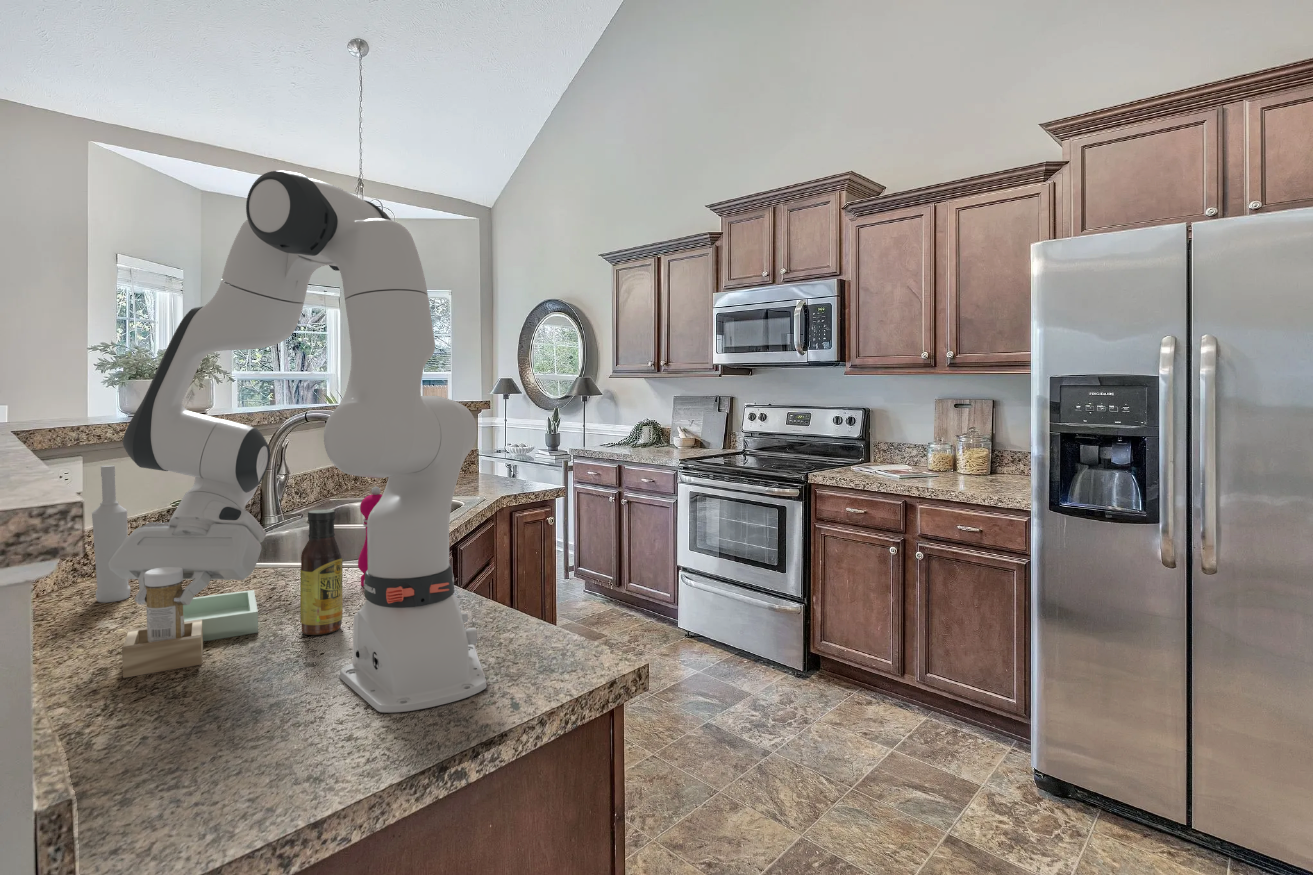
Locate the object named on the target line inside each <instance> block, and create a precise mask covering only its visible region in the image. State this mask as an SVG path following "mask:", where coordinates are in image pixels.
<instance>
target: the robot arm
mask: <svg viewBox="0 0 1313 875" xmlns="http://www.w3.org/2000/svg"><path fill="white" fill-rule="evenodd" d="M245 206H246V207H245V213H246V218H247V219H246V220H245V221H244V222H243V223H242V224H241V226H240V228H239V230H238V233H237V235H236V236H235V238H234V241H233V242H232V245H231V247H230V250H229V253H228V255H227V259H226V262H225V265H224V268H223V271H222V274H221V275H222V276H221V280H220V283H219V285H218V286H219V287H218V288H217V290H216V293H214V295H213V297H212V298H211V299H210V300H209V302H207V303H206V304H205V305H203V306H197V307H192V308H191V309H190V310H189V311H188V312H187V313H186V314H185V315H184V317H183V318H182V320H181V321H180V323H179V324H178V326H177V328H176V330H175V332H174V333H173V336H172V337H171V339H170V341H169V344H168V345H167V348H166V350H165V352H164V354H163V356H162V359H161V360H160V362H159V365H158V366H157V369H156V370H155V373H154V375H153V378H152V380H151V382H150V385H149V386H148V388H147V391H146V393H145V394H144V397H143V399H142V401H141V403H140V405H139V406H138V408H137V410H136V411H135V413H134V414H133V416H132V418H131V420H130V421H129V424H128V425H127V427H126V429H125V432H124V435H123V439H122V445H123V448H124V450H125V453H127V455H128V456H129V457H130V459H131V460H132V461H133V462H134V463H135V464H136V465H137V466H138V467H139V468H143V469H150V470H155V471H161V472H170V473H171V472H173V473H175V474H180V475H181V474H182V475H185V476H189V477H193V478H194V483H193V485H192V486H191V488H190V489H188V491H186V493H185V494H184V495H183V496H182V498H181V500H180V502H179V503H178V505H177V507H176V509H175V511H174V512H173V514H172V515H171V516H170V517H171V518H170V519H169V521H167V522H154V521H152V522H151V521H150V522H147V523H146V524H145V525H141V526H140V527H137V528H135V529H134V530H133V532H131V533H130V534H128V538H127V539H126V540H125V541H124V542H123V543H122V545H121V546H120V547H119V548H118V550H117V551H116V552H115V554H114V555H113V557H112V558H111V560H110V561H109V567H110V569H111V571H113V572H114V573H115V574H116V575H117V576H119V577H120V578H122V579H128V580H138V589H139V590H138V592H137V594H136V596H135V597H134V601H135V603H137V604H138V605H140V606H144V605H146V606H147V590H146V585H145V580H144V574H145V572H147V571H149V570H152V569H156V568H162V567H180V568H182V569H183V581H184V580H192V581H191V582H190V583H189V584H188V585H187V586H185V587H184V588H182V589H178V591H177V593H176V594H177V595H176V596H175V597H174V602H175V603H177V604H178V605H190V603H191V601H192V599H193V598H194V597H196V596H197V595H198V594H199V593H200V592H202V590H204V589H205V588H207V586H208V585H209V584H210V582H211V581H217V580H218V581H219V580H220V581H221V580H222V581H244V580H245V579H247V578H248V577H249V576H250V575H252V574H253V572H254V570H255V567H257V563H258V560H259V558H260V554H261V551H262V545H261V543H262V542H263V541H264V540H265V538H266V537H267V533H266V530H265V529H264V527H263V526H262V525H261V524H260V522H259V521H258V520H257V518H256V517H254V515H252V514H251V513H250V511H248V510H246V506H247V504H248V502H249V501H251V500H252V498H253V497H254V496H255V493H256V491H257V489H258V487H259V485H260V484H261V482H262V480H263V479H264V478H265V477H264V476H265V475H266V472H267V470H268V468H269V465H270V460H271V449H270V446H269V444H268V442H267V440H266V439H265V437H264V435H263V433H262V432H261V431H260V430H259V429H258V428H257V427H254V426H251V425H248V424H244V423H240V422H237V421H233V420H229V419H225V418H224V419H223V418H219V417H214V416H210V415H207V414H202V413H201V412H195V411H191V410H188V409H187V408H186V407H185V406H184V404H183V401H184V399H185V397H186V394H187V392H188V390H189V388H190V386H191V384H192V382H193V380H194V377H195V375H196V373H197V370H198V369H199V366H200V365H201V363H202V361H203V360H204V358H205V357H206V356H208V355H210V354H212V353H215V352H222V351H240V350H241V351H242V350H243V351H244V350H245V351H246V350H257V349H263V348H267V347H268V348H269V347H272V346H275V345H277V344H280V343H282V342H284V341H285V340H287V339H288V338H289V337H290V336H292V335H293V334H294V332H295V330H296V328H297V326H298V323H299V321H300V318H301V314H302V311H303V308H304V304H305V300H306V297H307V296H306V295H307V291H308V285H309V282H310V279H311V277H312V275H313V274H314V272H315V271H316V270H318V269H319V268H321V267H325V266H329V268H331V269H332V270H333V271H338V272H339V273H340V276H341V279H342V280H341V281H342V287H343V295H344V296H343V297H344V304H345V310H346V317H347V318H346V319H347V324H348V326H347V327H348V333H349V342H350V350H351V351H350V352H351V353H350V354H351V358H350V370H349V371H350V372H349V376H348V382H347V384H346V388H345V389H346V390H345V392H344V394H343V397H342V399H341V401H340V403H339V404H338V405H337V406H336V408H335V409H334V410H333V411H332V412H331V413H330V414H329V416H328V418H327V420H326V422H325V426H324V430H323V444H324V449H325V453H326V454H327V457H328V459H329V460H330V461H331V463H332V464H333V466H335V468H337V469H338V470H339V471H341V472H342V473H344V474H346V475H350V476H356V477H363V478H370V479H371V478H373V479H384V478H387V482H386V485H385V488H384V490H383V493H382V497H381V499H380V500H379V502H378V503H377V504H376V505H375V507H374V508H373V509H372V511H371V512H370V514H369V517H368V521H367V549H368V570H367V571H366V572H365V580H364V587H363V589H364V598H365V599H366V600H365V602H364V603H363V605H362V607H361V608H360V609H359V610H358V611H357V612H356V613H355V614H354V615H353V625H352V629H353V630H352V632H353V633H352V662H351V663H349V664H347V665H345V666H343V667H342V668H341V669H340V670H339V679H340V680H341V681H343V682H344V683H345V684H346V685H347V686H348V687H349V688H350V689H352V691H354V692H355V693H356V694H358V696H360V697H361V698H362V699H363V700H364V701H365V702H366V703H368V704H369V705H370V706H371V707H372V708H373V709H374V710H376V711H377V712H379V713H402V712H410V711H418V710H424V709H428V708H432V707H433V708H434V707H438V706H441V705H446V704H449V703H453V702H457V701H460V700H463V699H466V698H469V697H472V696H474V695H476V694H479V693H480V692H482V691H484V690H485V689H486V688H487V687H488V686H487V680H486V676H485V673H484V670H483V667H482V664H481V661H480V659H479V655H478V653H477V650H476V646H475V645H476V644H478V631H477V628H476V627H467V628H465V624H464V623H468V620H469V617H468V612H462V611H461V607H460V598H458V597H457V596H456V595H454V594H455V577H454V576H455V575H454V573H453V566H452V565H451V564H450V520H451V519H450V518H451V510H452V503H453V500H454V499H453V498H454V495H455V491H456V490H455V489H456V486H457V483H458V479H459V476H460V471H461V469H462V467H463V464H464V462H465V460H466V458H467V456H468V455H469V454H470V453H471V451H472V449H473V448H474V446H475V444H476V441H477V437H478V427H477V423H476V419H475V417H474V415H473V414H472V412H471V411H470V410H469V408H467V407H466V406H465V405H463V404H462V403H460V402H457V401H455V400H452V399H449V398H447V397H442V396H439V395H422V393H421V390H422V379H423V372H424V369H425V365H426V364H427V362H428V361H429V360H430V359H431V358H432V357H433V355H434V353H435V349H436V341H435V335H434V328H433V321H432V314H431V309H430V301H429V295H428V288H427V283H426V280H425V279H426V278H425V274H424V269H423V266H422V261H421V259H420V258H421V257H420V255H419V252H418V250H417V247H416V243H415V241H414V238H413V236H412V234H411V233H410V231H409V230H408V229H407V228H406V227H404V226H403V225H402V224H401V223H399V222H397V221H394V220H392V219H391V218H390V216H389V215H388V214H387V213H386V212H385V211H384V210H383V209H382V208H380V207H379V206H378V205H377V204H375V203H373V202H370V201H368V200H366V199H365V200H364V199H362V198H360V197H358V196H356V195H355V194H352V193H350V192H348V191H346V190H344V189H343V188H341V187H339V186H337V185H334V184H331V183H328V182H325V181H322V180H318V179H315V178H312V177H311V178H310V177H308V176H306V175H305V174H302V173H298V172H294V171H286V170H273V171H267V172H265V173H263V174H262V175H260V176H259V177H258V178H256V179H255V181H254V182H253V183H252V185H251V187H250V188H249V191H248V194H247V197H246V203H245Z"/></svg>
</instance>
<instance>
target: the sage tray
mask: <svg viewBox="0 0 1313 875" xmlns="http://www.w3.org/2000/svg"><path fill="white" fill-rule="evenodd" d="M183 615H184V622H186V621H193V620H200V619H202V628H203V642H207V641H215V640H221V639H227V638H232V637H239V636H245V635H252V634H257V633H259V610H258V605H257V599H256V594H255V590H254V589H250V590H243V591H234V592H233V591H232V592H226V593H218V594H210V595H203V596H194V597H193V599H192V601H191V603H190V605H183Z"/></svg>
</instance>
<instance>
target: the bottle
mask: <svg viewBox="0 0 1313 875" xmlns="http://www.w3.org/2000/svg"><path fill="white" fill-rule="evenodd" d="M100 477H101V492H102V493H101V494H102V495H101V496H102V499H101V500H102V501H101V502H100V504H99V506H98V507H97V508H96V509H95V510H94V511H92V512H91V519H92V520H91V521H92V522H91V523H92V532H93V547H94V561H95V563H94V564H95V575H96V588H97V589H96V591H95V598H96V601H97V602H98V603H102V604H103V603H114V602H119V601H124V600H127V599H129V598H130V596H131V586H130V585H129V579H122V578H120V577H119V576H117V575H116V574H115V573H114V572H113V571H111V569H110V567H109V561H110V560H111V558H112V557H113V555H114V554H115V552H116V551H117V550H118V548H119V547H120V546H121V545H122V543H123V542H124V541H125V540H126V539H127V538H128V537H129V534H128V531H129V530H128V528H129V527H128V509H126V508H125V507H123V506H122V505H120V504H119V501H117V496H116V494H117V492H116V465H101V466H100Z"/></svg>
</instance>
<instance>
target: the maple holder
mask: <svg viewBox="0 0 1313 875" xmlns="http://www.w3.org/2000/svg"><path fill="white" fill-rule="evenodd" d="M203 653H204V641H203V628H202V619H200V620H193V621H186V622H184V637H183V638H176V639H170V640H163V641H156V642H150V643H148V634H147V626H145V627H139V628H138V627H137V628H131V629H130V628H129V629H128V631H127V635H126V636H125V640H124V643H123V645H122V648H121V658H122V660H121V661H122V678H123V679H126V678H130V677H135V676H137V677H138V676H141V675H148V674H155V673H158V672H159V673H160V672H164V671H172V670H176V669H177V670H178V669H182V668H188V667H194V666H201V665H203V655H204V654H203Z"/></svg>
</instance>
